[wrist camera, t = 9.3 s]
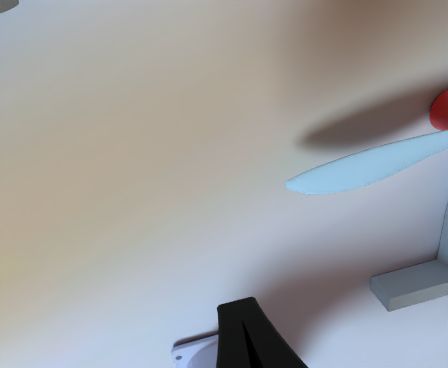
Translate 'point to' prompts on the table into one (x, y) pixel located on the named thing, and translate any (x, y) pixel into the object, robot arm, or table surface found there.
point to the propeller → (376, 159)
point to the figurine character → (7, 5)
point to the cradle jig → (415, 279)
